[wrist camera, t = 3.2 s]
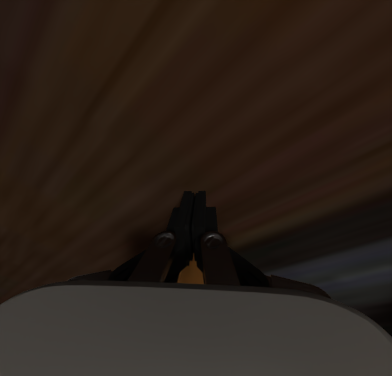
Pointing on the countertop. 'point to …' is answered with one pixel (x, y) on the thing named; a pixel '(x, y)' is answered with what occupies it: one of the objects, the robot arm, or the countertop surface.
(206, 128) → the countertop surface
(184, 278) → the ball
